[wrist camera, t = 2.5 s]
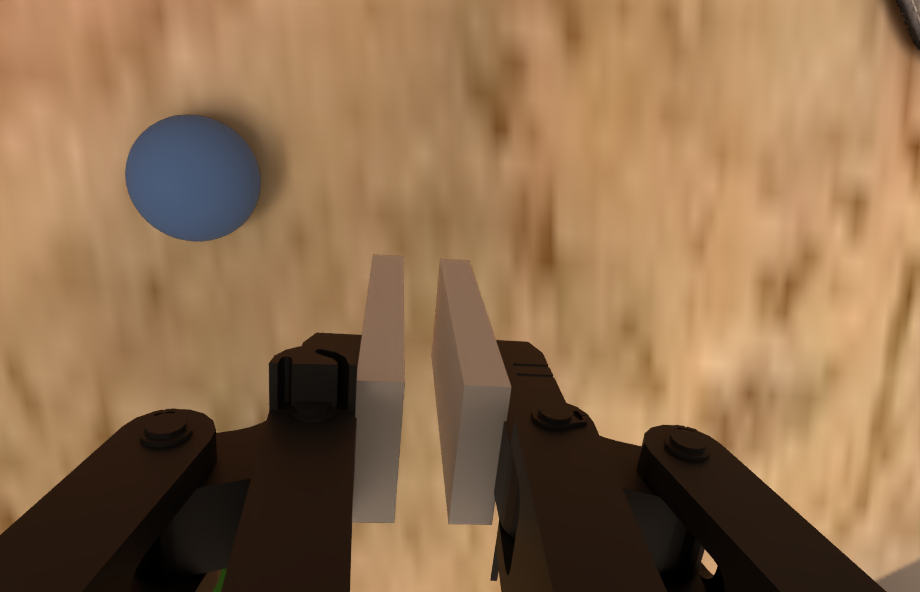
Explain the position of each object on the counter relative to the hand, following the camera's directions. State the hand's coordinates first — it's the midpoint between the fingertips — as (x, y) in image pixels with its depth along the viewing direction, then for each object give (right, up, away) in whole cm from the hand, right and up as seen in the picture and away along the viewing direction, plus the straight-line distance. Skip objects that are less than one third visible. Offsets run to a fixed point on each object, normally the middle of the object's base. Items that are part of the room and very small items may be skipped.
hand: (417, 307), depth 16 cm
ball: (-11, +6, +12) cm, 17 cm away
